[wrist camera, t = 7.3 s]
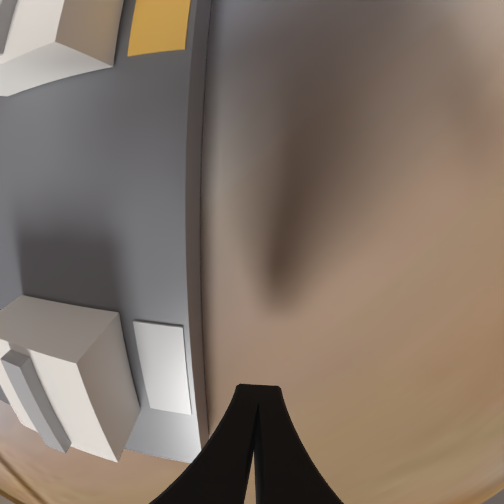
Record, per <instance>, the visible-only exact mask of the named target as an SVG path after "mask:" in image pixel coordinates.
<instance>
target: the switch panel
mask: <svg viewBox="0 0 504 504" xmlns="http://www.w3.org/2000/svg"><path fill="white" fill-rule="evenodd" d="M211 3H212V0H124V2H123V7H122V12H121V17H120V23H119V29H118V35H117V41H116V48H115V56H114V64H113V67H110V68H105V69H100V70H95V71H91V72H86V73H82V74H78V75H74V76H70V77H66V78H63V79H59V80H55V81H52V82H49V83H45V84H42V85H39V86H36V87H33V88H30V89H27V90H24V91H21V92H18V93H16V94H13V95H10V96H0V310H1V309H3V308H4V307H5V306H7V305H8V304H9V303H11V302H12V301H14V300H15V299H16V298H18V297H19V296H21V295H25V296H29V297H34V298H39V299H44V300H49V301H54V302H59V303H65V304H70V305H76V306H82V307H88V308H94V309H100V310H106V311H113V312H119V316H120V322H121V327H122V333H123V338H124V343H125V348H126V353H127V357H128V362H129V366H130V371H131V375H132V379H133V383H134V387H135V391H136V395H137V399H138V402H139V406H140V410H141V411H140V414H139V416H138V418H137V420H136V422H135V425H134V427H133V429H132V431H131V434H130V436H129V438H128V440H127V443H126V445H125V447H124V449H127V450H131V451H134V452H138V453H143V454H147V455H151V456H156V457H161V458H165V459H171V460H176V461H182V462H188V463H192V461H193V460H194V459H195V458H196V457H197V455H198V454H199V453H200V451H201V450H202V449H203V447H204V446H205V444H206V443H207V442H208V440H209V431H208V419H207V406H206V392H205V377H204V360H203V339H202V314H201V276H200V185H201V148H202V123H203V103H204V86H205V71H206V57H207V45H208V34H209V23H210V13H211ZM0 400H2V401H4V402H6V403H8V404H10V402H9V401H8V399H7V397H6V395H5V393H4V391H3V389H2V387H1V385H0ZM10 405H11V404H10Z"/></svg>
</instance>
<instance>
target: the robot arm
mask: <svg viewBox="0 0 504 504" xmlns="http://www.w3.org/2000/svg"><path fill="white" fill-rule="evenodd" d="M253 452H254V465H255V489H256V504H344V503H343V502H342V501H341V500H340V499H339V498H338V497H337V495H336V494H335V493H334V492H333V490H332V489H331V488H330V487H329V485H328V484H327V483H326V481H325V480H324V478H323V477H322V476H321V474H320V473H319V471H318V470H317V468H316V467H315V465H314V463H313V462H312V460H311V458H310V457H309V455H308V453H307V452H306V450H305V448H304V446H303V444H302V442H301V440H300V438H299V436H298V434H297V432H296V430H295V428H294V426H293V423H292V421H291V419H290V416H289V414H288V411H287V408H286V405H285V402H284V399H283V395H282V391H281V388H280V387H279V386H268V385H251V384H239V385H237V386H236V389H235V393H234V395H233V398H232V400H231V402H230V405H229V407H228V409H227V411H226V412H225V414H224V416H223V418H222V420H221V421H220V423H219V425H218V426H217V428H216V430H215V431H214V433H213V434H212V436H211V437H210V439H209V440H208V442H207V443H206V444H205V446H204V447H203V449H202V450H201V451H200V453H199V454H198V455H197V457H196V458H195V459H194V460H193V461H192V463H191V464H190V465H189V466H188V467H187V468H186V469H185V471H184V472H183V473H182V474H181V475H180V476H179V477H178V478H177V479H176V480H175V481H174V482H173V483H172V484H171V485H170V486H169V487H168V488H167V489H166V490H165V491H164V492H162V493H161V494H160V495H159V496H158V497H157V498H155V499H154V500H153V501H152V502H150V503H149V504H244V500H245V495H246V490H247V484H248V479H249V474H250V468H251V463H252V457H253Z"/></svg>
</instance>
